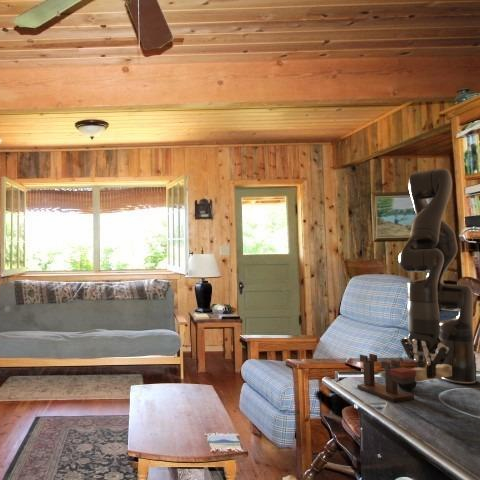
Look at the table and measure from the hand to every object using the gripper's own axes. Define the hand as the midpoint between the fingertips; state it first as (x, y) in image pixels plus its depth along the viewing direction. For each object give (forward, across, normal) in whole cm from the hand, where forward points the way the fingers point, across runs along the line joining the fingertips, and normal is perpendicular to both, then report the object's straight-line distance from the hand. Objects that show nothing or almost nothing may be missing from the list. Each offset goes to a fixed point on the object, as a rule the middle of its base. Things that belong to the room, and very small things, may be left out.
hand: (425, 376), depth 118 cm
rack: (+9, +12, +1) cm, 15 cm away
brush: (+1, 0, +2) cm, 2 cm away
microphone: (+9, +18, -12) cm, 24 cm away
